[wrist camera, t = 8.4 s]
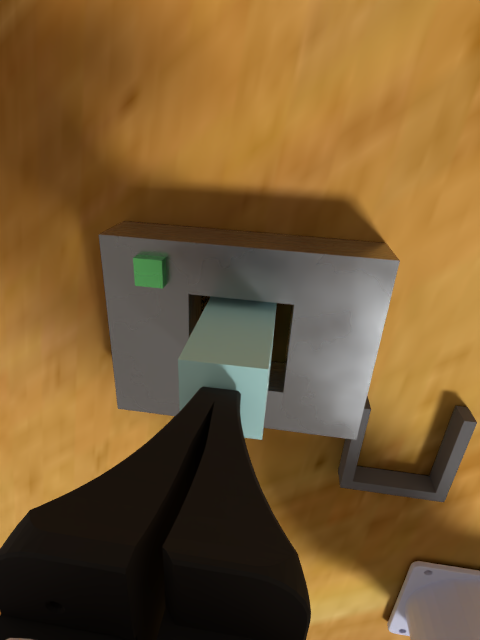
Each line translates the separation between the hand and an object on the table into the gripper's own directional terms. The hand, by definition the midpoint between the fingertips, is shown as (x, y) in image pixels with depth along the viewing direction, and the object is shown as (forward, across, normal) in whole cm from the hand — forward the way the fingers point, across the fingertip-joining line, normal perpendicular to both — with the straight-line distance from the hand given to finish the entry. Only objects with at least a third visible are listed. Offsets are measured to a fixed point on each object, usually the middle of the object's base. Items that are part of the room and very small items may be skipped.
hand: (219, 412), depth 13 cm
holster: (+7, -9, +6) cm, 13 cm away
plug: (+7, 0, 0) cm, 7 cm away
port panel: (+7, 0, 0) cm, 7 cm away
